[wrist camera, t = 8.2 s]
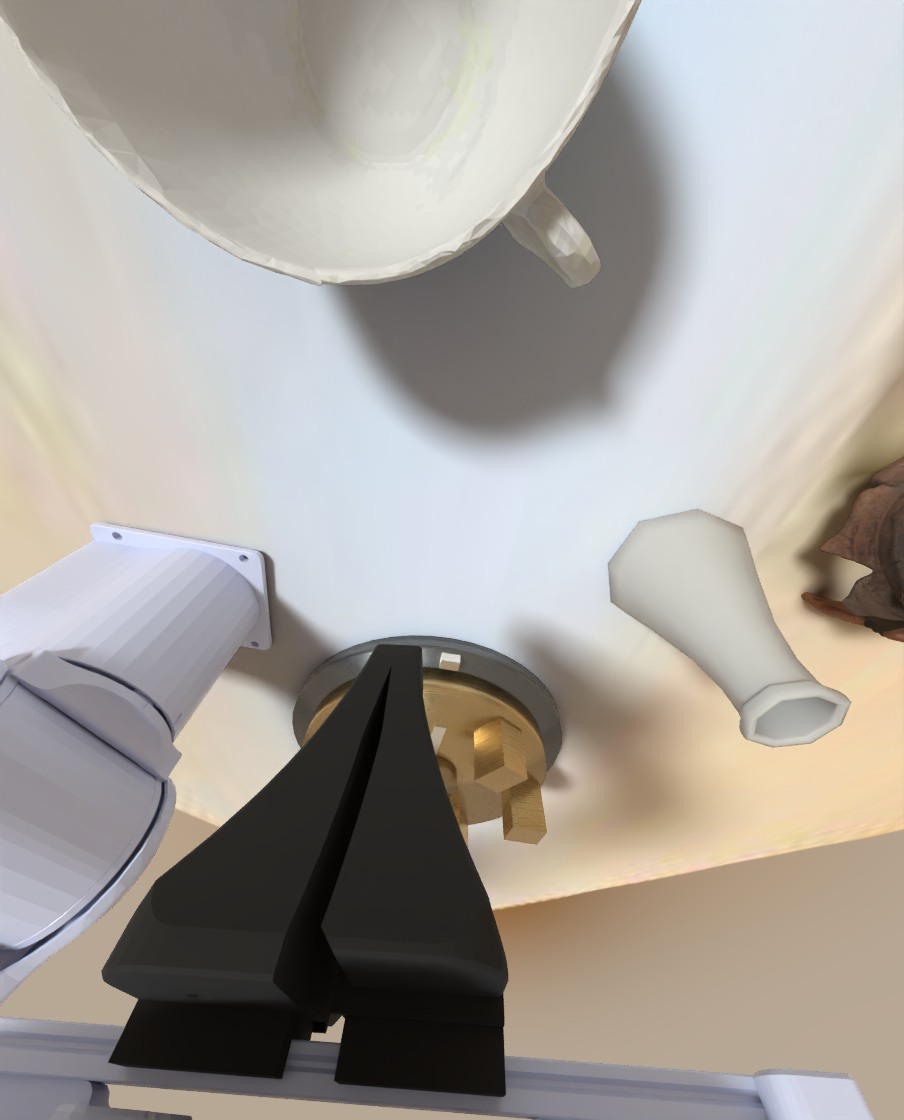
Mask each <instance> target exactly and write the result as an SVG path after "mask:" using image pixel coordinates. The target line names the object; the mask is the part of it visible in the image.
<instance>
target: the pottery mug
mask: <svg viewBox="0 0 904 1120" xmlns="http://www.w3.org/2000/svg"><path fill="white" fill-rule="evenodd" d="M870 483H871V486H872V487H873V488H871V489H867V490H864V491H862V492H861V493H860V494H859V496H858V497H857V499H856V501H855V502H854V504H853V508H852V511H851V513H850V515H849V516H848V519H847V521H846V523H845V525H844V527H843V528H842V529H841V530H840V531H839V532H838V533H837V534H836V535H835V536H834V537H832V538H830V539H829V540H827V541H826V542H825V543H824V544H823V545H822V546H821V547H820V548H819V550H820V551H823V552H829V553H832V554H834V555H837V556H840V557H842V558H845V559H848V560H852V561H855V562H857V563H859V564H862V565H864V566H867V567H868V568H870V569H872V570H873V572H872V573H871V574H869V575H867V576H865V577H863V578H861V579H859V580H857V581H856V582H855V584H854V586H853V588H852V590H851V592H850V594H849V595H848V596H847V597H846V598H845V599H843V601H842V602H839V601H832V600H828V599H823V598H820V597H817V596H815V595H813V594H810V593H807V592H806V593H803V594H802V595H801V597H802V598H803V599H804V600H807V601H808V602H809V603H810V604H811V605H813V606H814V607H815V608H817V609H818V610H820V611H822V612H823V613H825V614H827V615H829V616H832V617H835V618H839V619H841V620H844V621H848V622H852V623H855V624H859V625H864V626H865V627H868V628H871V629H872V630H873V631H874V632H876V633H879V634H880V635H881V636H884V637H886V638H888V639H892V640H896V641H900V642H904V457H902V458H900V459H898V460H897V461H895V462H894V463H892V464H891V465H890V466H888V467H887V468H885V469H883V470H882V471H880V472H878V473H877V474H875V475H874V476H873V477H872V479H871V482H870Z"/></svg>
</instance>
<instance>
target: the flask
mask: <svg viewBox="0 0 904 1120" xmlns="http://www.w3.org/2000/svg"><path fill="white" fill-rule="evenodd" d="M608 570H609V584H610V598H611V602H612V603H613V604H615V605H616V606H617V607H619V608H620V609H622V610H623V611H624V612H626V613H627V614H629V615H630V616H632V617H633V618H635V619H636V620H638V621H639V622H641V623H642V624H644V625H645V626H647V627H648V628H650V629H651V630H653V631H654V632H655V633H657V634H658V635H660V636H661V637H662V638H664V639H665V640H666V641H668V642H669V643H670V644H672V645H673V646H675V647H676V648H677V649H679V650H680V651H681V652H683V653H684V654H685V655H687V656H688V657H689V658H691V659H692V660H693V661H694V662H695V663H696V664H697V665H698V666H699V667H700V668H701V669H702V670H703V671H704V672H705V673H706V674H707V675H708V676H709V677H710V678H711V679H712V680H713V681H714V682H715V683H716V684H717V685H718V686H719V687H720V688H721V689H722V690H723V691H724V693H725V694H726V696H727V697H728V698H729V700H730V701H731V703H732V704H733V706H734V707H735V708H736V710H737V711H738V713H739V715H740V717H741V720H740V725H739V728H740V731H741V733H742V735H743V736H744V738H745V739H747V740H750V741H753V742H756V743H760V744H763V745H766V746H770V747H782V746H791V745H801V744H810V743H812V742H814V741H816V740H817V739H819V738H821V737H822V736H824V735H825V734H827V733H829V732H830V731H832V730H834V729H835V728H837V727H838V726H840V725H842V723H843V720H844V718H845V716H846V713H847V711H848V709H849V706H850V704H851V701H850V700H849V699H848V698H847V696H845V695H844V694H842V693H841V692H839V691H837V690H834V689H831V688H829V687H826V686H823V685H822V684H820V683H819V682H818V681H817V680H816V679H815V678H814V677H813V676H812V674H811V673H810V672H809V671H808V670H807V669H806V668H805V667H804V666H803V665H802V664H801V662H800V661H799V660H798V659H797V658H796V656H795V654H794V653H793V651H792V650H791V648H790V646H789V645H788V643H787V641H786V640H785V638H784V637H783V635H782V633H781V632H780V630H779V629H778V627H777V625H776V624H775V622H774V619H773V616H772V613H771V611H770V608H769V605H768V602H767V600H766V597H765V594H764V591H763V589H762V586H761V583H760V580H759V578H758V575H757V571H756V568H755V565H754V561H753V558H752V555H751V551H750V548H749V544H748V541H747V538H746V535H745V533H744V530H743V528H742V527H740V526H738V525H735V524H733V523H730V522H728V521H726V520H723V519H721V518H718V517H716V516H714V515H711V514H709V513H707V512H704V511H702V510H699V509H695V510H690V511H685V512H681V513H676V514H671V515H667V516H662V517H657V518H653V519H648V520H643V521H639V522H638V524H637V525H636V526H635V528H634V529H633V530H632V532H631V533H630V534H629V536H628V537H627V538H626V540H625V541H624V543H623V544H622V545H621V547H620V548H619V549H618V551H617V552H616V553H615V555H614V556H613V557H612V559H611V560H610V561H609V563H608Z"/></svg>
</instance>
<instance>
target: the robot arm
mask: <svg viewBox="0 0 904 1120" xmlns="http://www.w3.org/2000/svg"><path fill="white" fill-rule="evenodd" d="M90 532H91V535H92V538H93V541H91V542H89V543H88V544H86V545H84V546H83V547H81V548H79V549H78V550H76V551H74V552H73V553H71V554H69V555H68V556H66V557H64V558H63V559H61V560H59V561H58V562H56V563H54V564H53V565H51V566H49V567H48V568H46V569H44V570H43V571H41V572H39V573H38V574H36V575H34V576H33V577H31V578H29V579H28V580H26V581H24V582H22V583H21V584H19V585H17V586H16V587H14V588H12V589H11V590H9V591H7V592H6V593H4V594H2V595H1V596H0V1006H1V1004H2V1003H3V1002H4V1001H5V1000H6V999H7V998H8V997H9V996H10V995H11V994H12V993H13V992H14V991H15V990H16V989H17V988H18V987H19V986H20V984H21V983H22V982H23V981H24V980H25V979H27V977H29V976H30V975H31V974H32V973H33V972H34V971H35V970H36V969H37V968H38V967H39V966H41V965H42V964H43V963H44V962H45V961H46V960H47V959H49V958H50V957H51V956H52V955H54V954H55V953H56V952H58V951H59V950H60V949H62V948H63V947H65V946H66V945H67V944H69V943H70V942H71V941H73V940H74V939H75V938H77V937H78V936H79V935H81V934H82V933H84V932H85V931H86V930H87V929H88V928H89V927H91V925H93V924H94V923H95V922H97V921H98V920H99V919H100V918H102V917H103V916H104V915H105V914H106V913H107V912H108V911H109V910H110V909H111V908H113V907H114V906H115V905H116V904H117V902H118V901H119V900H120V899H121V898H122V897H123V896H124V895H125V894H126V893H127V892H128V891H129V889H130V888H131V887H132V886H133V885H134V883H135V882H136V881H137V880H138V878H139V877H140V876H141V874H142V873H143V872H144V870H145V869H146V867H147V866H148V864H149V863H150V862H151V860H152V858H153V857H154V855H155V854H156V852H157V850H158V848H159V846H160V844H161V843H162V841H163V838H164V836H165V834H166V831H167V829H168V826H169V823H170V821H171V818H172V815H173V812H174V808H175V804H176V788H175V785H174V783H173V782H172V780H171V779H170V778H168V776H169V774H170V773H171V771H172V770H173V768H174V767H175V765H176V764H177V762H178V761H179V759H180V758H181V756H182V754H181V753H180V752H179V751H178V750H177V749H176V748H175V746H174V745H173V742H174V740H175V739H176V737H177V736H178V735H179V733H180V732H181V730H182V729H183V727H184V726H185V724H186V723H187V722H188V720H189V719H190V717H191V716H192V714H193V713H194V712H195V710H196V709H197V707H198V706H199V704H200V703H201V701H202V700H203V699H204V697H205V696H206V694H207V693H208V691H209V690H210V689H211V687H212V686H213V684H214V683H215V681H216V680H217V678H218V677H219V676H220V674H221V673H222V671H223V670H224V668H225V667H226V666H227V664H228V663H229V661H230V660H231V658H232V657H233V656H234V654H235V653H236V651H237V650H238V648H239V647H240V646H241V647H247V648H253V649H260V650H268V649H269V648H270V647H271V645H272V638H271V627H270V616H269V605H268V594H267V583H266V573H265V562H264V557H263V555H262V554H261V553H260V552H258V551H256V550H251V549H246V548H240V547H235V546H229V545H224V544H218V543H213V542H207V541H202V540H196V539H190V538H185V537H179V536H174V535H168V534H163V533H157V532H152V531H146V530H141V529H135V528H130V527H124V526H119V525H113V524H108V523H102V522H97V523H95V524H93V525H91V526H90ZM243 555H244V556H246V557H247V558H248V559H246V558H245V557H243ZM102 976H103V980H104V981H105V982H106V983H107V984H109V985H111V986H113V987H115V988H117V989H119V990H121V991H123V992H125V993H127V994H129V995H131V996H133V997H135V998H138V1001H137V1003H136V1005H135V1008H134V1010H133V1012H132V1014H131V1016H130V1018H129V1020H128V1022H127V1024H126V1026H114V1025H101V1024H88V1023H75V1022H61V1021H49V1020H37V1019H24V1018H11V1017H0V1120H192V1117H191V1116H185V1115H176V1114H165V1113H157V1112H150V1111H139V1110H129V1109H118V1108H110V1106H109V1102H108V1100H109V1089H108V1086H107V1085H105V1084H113V1085H126V1086H138V1087H150V1088H162V1089H174V1090H186V1091H198V1092H211V1093H223V1094H236V1095H247V1096H259V1097H271V1098H285V1099H295V1100H296V1099H297V1100H307V1101H320V1102H332V1103H344V1104H356V1105H368V1106H380V1107H393V1108H405V1109H417V1110H430V1111H441V1112H453V1113H465V1114H477V1115H490V1116H502V1117H514V1118H527V1119H533V1120H875V1119H874V1117H873V1116H872V1113H871V1112H870V1109H869V1107H868V1106H867V1103H866V1102H865V1099H864V1097H863V1095H862V1093H861V1092H860V1089H859V1087H858V1085H857V1083H856V1081H855V1080H854V1079H853V1078H851V1077H850V1076H849V1075H848V1074H844V1073H831V1072H818V1071H805V1070H792V1069H767V1070H761V1071H757V1072H755V1074H754V1075H744V1074H731V1073H718V1072H706V1071H693V1070H680V1069H667V1068H654V1067H642V1066H629V1065H616V1064H603V1063H589V1062H576V1061H564V1060H551V1059H539V1058H526V1057H525V1058H524V1057H513V1056H504V1034H503V1027H504V999H503V992H504V989H505V987H506V984H507V982H508V968H507V962H506V956H505V952H504V949H503V945H502V942H501V938H500V934H499V931H498V928H497V925H496V921H495V918H494V915H493V911H492V908H491V905H490V901H489V898H488V895H487V892H486V890H485V888H484V886H483V883H482V881H481V879H480V877H479V874H478V872H477V870H476V867H475V865H474V862H473V860H472V858H471V855H470V853H469V850H468V848H467V845H466V843H465V840H464V838H463V835H462V833H461V830H460V827H459V824H458V822H457V819H456V816H455V813H454V811H453V808H452V805H451V802H450V799H449V797H448V794H447V791H446V788H445V785H444V781H443V778H442V775H441V772H440V768H439V765H438V761H437V758H436V754H435V751H434V747H433V743H432V739H431V735H430V730H429V726H428V721H427V716H426V711H425V705H424V699H423V659H422V648H421V647H419V646H414V645H393V644H378V645H377V646H376V647H375V648H374V650H373V652H372V654H371V655H370V657H369V659H368V660H367V662H366V664H365V665H364V667H363V668H362V670H361V672H360V673H359V675H358V676H357V678H356V679H355V681H354V682H353V683H352V685H351V686H350V688H349V689H348V691H347V692H346V693H345V695H344V696H343V698H342V699H341V700H340V702H339V703H338V704H337V706H336V707H335V708H334V710H333V711H332V712H331V713H330V715H329V716H328V717H327V718H326V720H325V721H324V722H323V724H322V725H321V726H320V727H319V729H318V730H317V731H316V732H315V733H314V735H313V736H312V737H311V738H310V739H309V740H308V742H307V743H306V744H305V745H304V746H303V747H302V748H301V749H300V751H299V752H298V753H297V754H296V755H295V756H294V757H293V758H292V759H291V760H290V761H289V763H288V764H287V765H286V766H285V767H284V768H283V769H282V770H281V771H280V772H279V773H278V774H277V775H276V776H275V777H274V778H273V779H272V780H271V781H270V782H269V783H268V784H267V785H266V786H265V787H264V788H263V789H262V790H261V791H260V792H259V793H258V794H257V795H256V796H255V797H253V798H252V799H251V800H250V801H249V802H248V803H247V804H246V805H245V806H244V807H242V808H241V809H240V810H239V811H238V812H237V813H236V814H235V815H234V816H232V817H231V818H230V819H229V820H228V821H227V822H226V823H225V824H224V825H223V826H221V827H220V828H219V829H218V830H217V831H216V832H215V833H213V834H212V835H211V836H210V837H209V838H208V839H206V840H205V841H204V842H203V843H201V844H200V845H199V846H198V847H196V848H195V849H194V850H193V851H192V852H190V853H189V854H188V855H187V856H185V857H184V858H183V859H182V860H181V861H179V862H178V863H177V864H176V865H174V866H173V867H172V868H171V869H169V870H168V871H167V872H166V873H165V874H163V875H162V876H161V877H159V878H158V879H157V880H156V881H155V883H154V884H153V886H152V887H151V889H150V890H149V892H148V893H147V895H146V897H145V898H144V899H143V901H142V902H141V904H140V905H139V906H138V908H137V910H136V911H135V913H134V915H133V916H132V918H131V920H130V921H129V923H128V925H127V927H126V929H125V930H124V932H123V934H122V936H121V937H120V939H119V941H118V943H117V944H116V946H115V948H114V950H113V952H112V953H111V955H110V957H109V959H108V960H107V962H106V964H105V966H104V968H103V969H102ZM342 1015H343V1017H344V1018H345V1023H344V1028H343V1034H342V1039H341V1043H333V1042H320V1041H310V1039H311V1034H312V1032H314V1033H326V1031H327V1027H328V1026H332V1025H334V1024H335V1022H336V1021H337V1020H338V1019H339V1018H340V1017H341V1016H342Z"/></svg>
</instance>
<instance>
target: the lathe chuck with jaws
mask: <svg viewBox="0 0 904 1120" xmlns="http://www.w3.org/2000/svg"><path fill="white" fill-rule="evenodd" d="M356 678H357V677H356ZM356 678H353V679H351V680H349V681H347V682H345V683H343V684H341V685H340V686H338V687H337V688H335V689H334V690H332V691H331V692H330V693H329V694H328V695H327V696H326V697H325V698H324V699H323V700H322V701H321V702H320V704H319V705H318V707H317V708H316V710H315V713H314V715H313V718H312V720H311V723H310V725H309V728H308V730H307V733H306V735H305V738H304V741H303V744H302V747H303V746H304V745H305V744H306V743H307V742H308V740H309V739H310V738H311V737H312V736H313V735H314V733H315V732H316V731H317V730H318V729H319V727H320V726H321V725H322V724H323V722H324V721H325V720H326V718H327V717H328V716H329V715H330V713H331V712H332V711H333V710H334V708H335V707H336V706H337V704H338V703H339V702H340V700H341V699H342V698H343V696H344V695H345V693H346V692H347V691H348V689H349V688H350V686H351V685H352V683H353V682H354V681H355V679H356ZM423 699H424V705H425V711H426V716H427V721H428V726H429V730H430V735H431V739H432V743H433V747H434V751H435V754H436V758H437V761H438V765H439V768H440V772H441V775H442V778H443V781H444V785H445V788H446V791H447V794H448V797H449V799H450V802H451V805H452V808H453V811H454V813H455V816H456V819H457V822H458V824H459V827H460V830H461V833H462V835H463V838H464V840H465V843H466V845H467V848H468V825H472V824H477V823H482V822H486V821H489V820H493V819H496V818H499V817H502V816H503V831H504V840H511V841H517V842H524V843H530V844H537V843H538V842H539V841H540V840H541V839H542V838H543V836H544V835H545V834H546V833H547V830H546V823H545V816H544V810H543V803H542V796H541V789H540V788H541V786H542V784H543V782H544V779H545V776H546V767H547V765H546V759H545V753H544V747H543V742H542V736H541V730H540V728H539V725H538V723H537V721H536V719H535V718H534V716H533V715H532V713H531V712H530V711H529V710H528V708H527V707H526V706H525V705H524V704H523V703H522V702H521V701H519V700H518V699H517V698H516V697H514V696H513V695H512V694H510V693H508V692H507V691H505V690H503V689H502V688H500V687H498V686H496V685H494V684H492V683H490V682H487V681H485V680H483V679H480V678H477V677H474V676H471V675H467V674H463V673H459V672H455V671H450V670H443V669H436V668H423Z"/></svg>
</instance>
